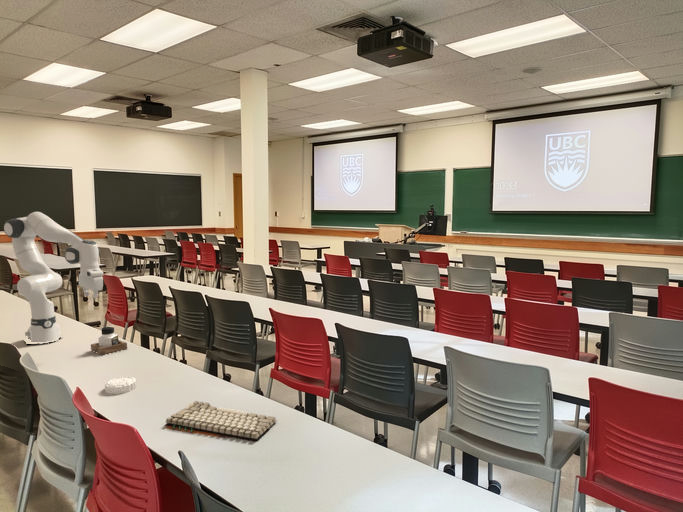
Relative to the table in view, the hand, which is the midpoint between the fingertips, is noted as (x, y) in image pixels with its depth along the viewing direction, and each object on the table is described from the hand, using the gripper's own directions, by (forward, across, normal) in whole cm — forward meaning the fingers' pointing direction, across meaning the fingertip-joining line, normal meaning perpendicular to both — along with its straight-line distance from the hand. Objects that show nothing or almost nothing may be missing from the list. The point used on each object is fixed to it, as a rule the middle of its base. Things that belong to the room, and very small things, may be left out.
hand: (90, 296), depth 252 cm
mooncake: (+27, +68, -19) cm, 75 cm away
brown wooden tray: (+28, +10, +4) cm, 30 cm away
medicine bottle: (+28, +10, +4) cm, 30 cm away
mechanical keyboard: (+24, +128, -14) cm, 131 cm away
